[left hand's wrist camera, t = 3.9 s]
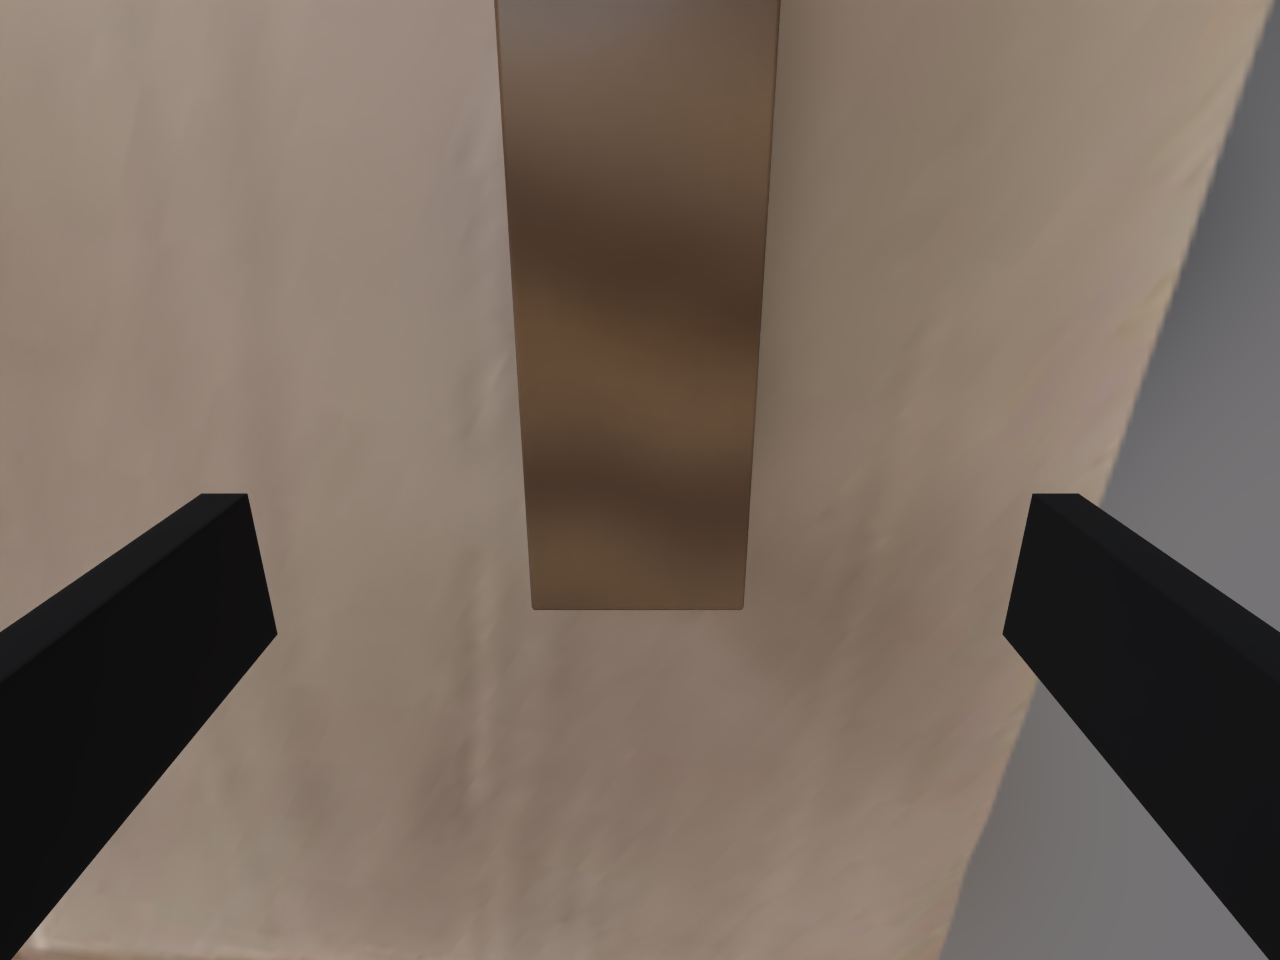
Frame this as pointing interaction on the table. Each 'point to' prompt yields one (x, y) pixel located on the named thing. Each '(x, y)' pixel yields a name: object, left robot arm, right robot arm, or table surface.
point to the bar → (637, 289)
